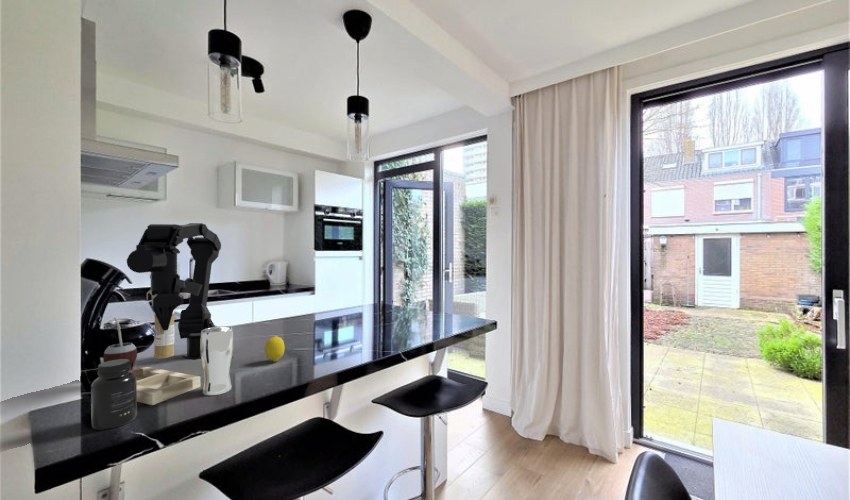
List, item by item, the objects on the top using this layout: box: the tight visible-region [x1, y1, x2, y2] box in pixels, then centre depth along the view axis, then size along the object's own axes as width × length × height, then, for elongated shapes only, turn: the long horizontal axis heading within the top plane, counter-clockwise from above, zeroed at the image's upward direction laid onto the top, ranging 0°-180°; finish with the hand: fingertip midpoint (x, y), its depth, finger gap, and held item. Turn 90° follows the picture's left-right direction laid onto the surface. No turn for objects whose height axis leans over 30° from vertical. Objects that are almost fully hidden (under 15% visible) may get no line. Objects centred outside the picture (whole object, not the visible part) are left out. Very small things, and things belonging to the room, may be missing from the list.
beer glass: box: [200, 325, 234, 397], centre depth 85 cm, size 7×7×15 cm
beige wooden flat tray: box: [129, 366, 201, 406], centre depth 86 cm, size 21×11×3 cm, turn 69°
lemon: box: [264, 335, 286, 363], centre depth 106 cm, size 6×6×8 cm
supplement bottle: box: [90, 359, 138, 431], centre depth 69 cm, size 7×7×12 cm
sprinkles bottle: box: [153, 308, 176, 360], centre depth 93 cm, size 5×5×14 cm
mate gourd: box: [102, 317, 138, 371], centre depth 96 cm, size 8×8×15 cm
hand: (164, 328), depth 93 cm, fingers closed on sprinkles bottle, 4 cm apart
